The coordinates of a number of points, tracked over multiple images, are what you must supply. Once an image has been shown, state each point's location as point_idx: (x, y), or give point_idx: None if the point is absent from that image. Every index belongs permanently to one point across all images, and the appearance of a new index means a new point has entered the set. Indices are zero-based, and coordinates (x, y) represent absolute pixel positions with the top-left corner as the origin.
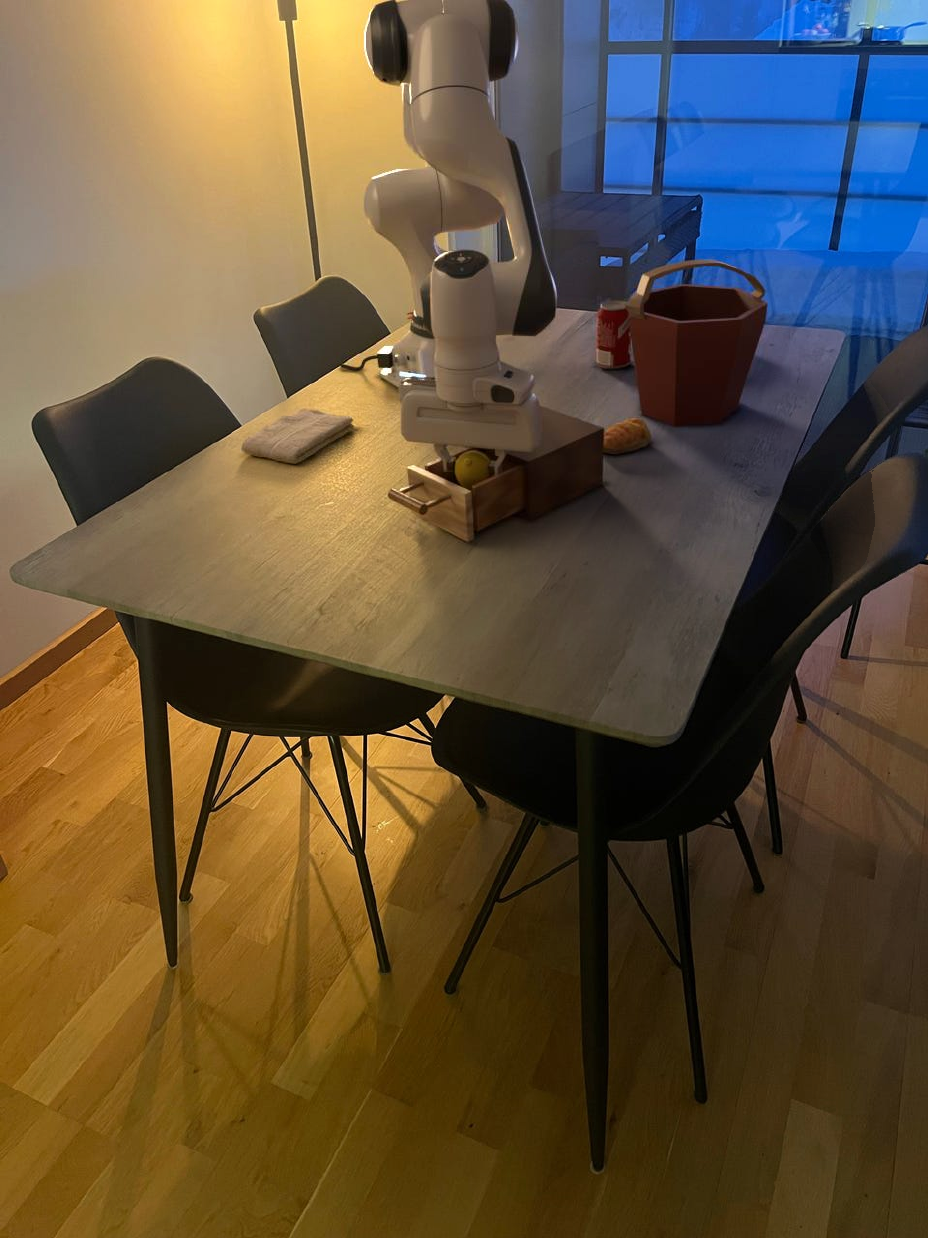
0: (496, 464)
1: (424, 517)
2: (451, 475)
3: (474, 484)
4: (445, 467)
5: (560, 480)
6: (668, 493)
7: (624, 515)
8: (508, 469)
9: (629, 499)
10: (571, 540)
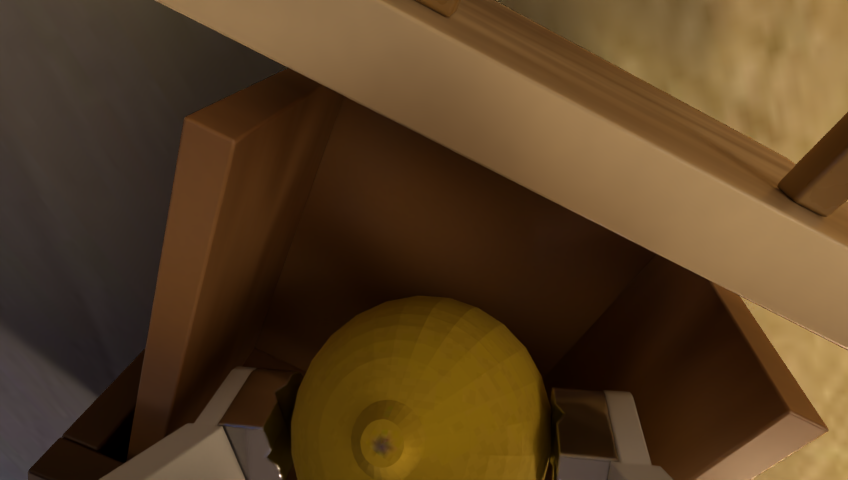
0: (190, 436)
1: (690, 107)
2: None
3: (384, 303)
4: (619, 415)
5: None
6: (21, 432)
7: (20, 325)
8: None
9: (72, 400)
10: (27, 143)
